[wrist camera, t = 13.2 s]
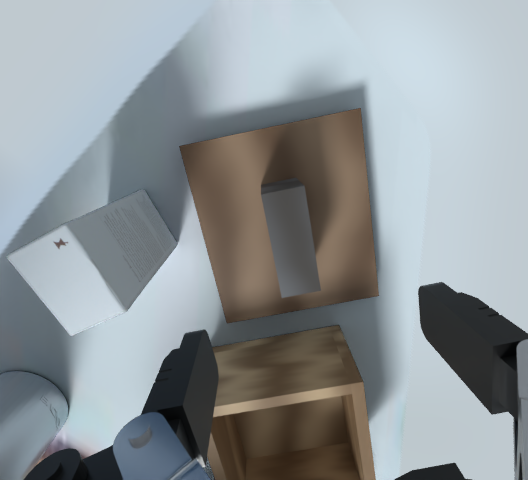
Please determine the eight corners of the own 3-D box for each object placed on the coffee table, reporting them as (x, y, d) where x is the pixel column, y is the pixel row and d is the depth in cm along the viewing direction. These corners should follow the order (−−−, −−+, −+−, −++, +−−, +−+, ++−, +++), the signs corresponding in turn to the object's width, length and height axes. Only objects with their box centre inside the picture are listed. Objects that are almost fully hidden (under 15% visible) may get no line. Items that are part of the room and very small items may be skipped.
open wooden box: (240, 458, 38) (235, 538, 30) (207, 348, 33) (191, 410, 25) (355, 439, 37) (380, 517, 29) (338, 324, 32) (363, 381, 25)
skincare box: (105, 208, 28) (0, 254, 17) (144, 187, 28) (64, 220, 16) (141, 264, 30) (68, 340, 19) (180, 245, 29) (129, 311, 18)
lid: (229, 311, 32) (220, 357, 25) (185, 145, 27) (160, 147, 20) (370, 285, 31) (401, 325, 24) (352, 110, 26) (385, 99, 20)
